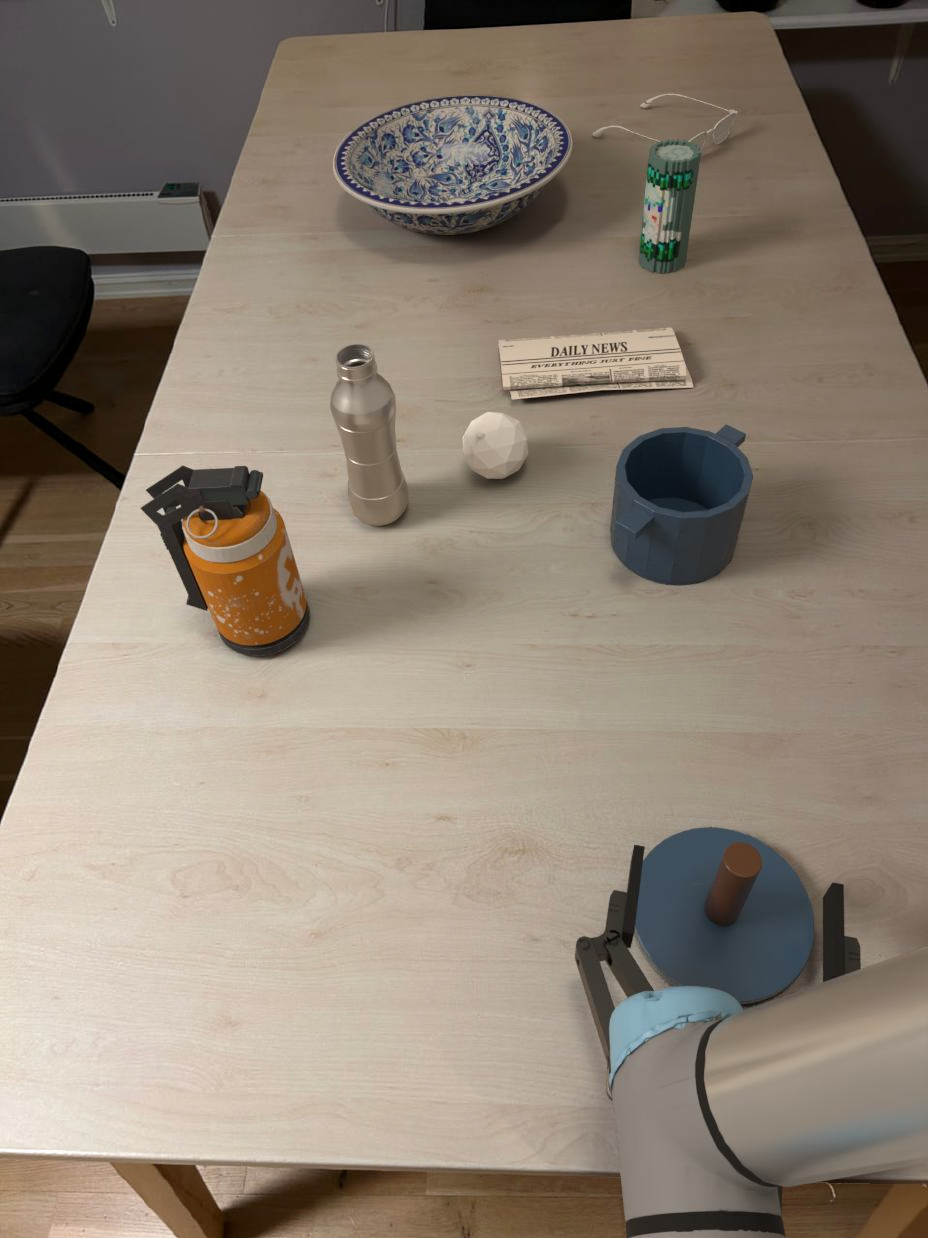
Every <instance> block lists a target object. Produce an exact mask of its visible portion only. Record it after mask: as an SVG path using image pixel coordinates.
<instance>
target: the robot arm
mask: <svg viewBox="0 0 928 1238" xmlns="http://www.w3.org/2000/svg"><path fill="white" fill-rule="evenodd" d="M645 848H646V846H644V845H640V844H633V848H632V854H631V858H630V864H629V871H628V872H629V873H628V880H627V889H626V891H622V890H617V889H613V890H612V892H611V894H610V895H609V900H608V905H607V913H606V920H605V928H604V931H603V933H602V934H600V935H599V936H598V935H597V936H595V937H589V936H586V935H584V936H582V935H581V936H580V937H578V939H577V940H576V942H575V949H574V950H575V951H574V961H575V964H576V966H577V970H578V974H579V977H580V980H581V983H582V986H583V989H584V990H583V991H584V993H585V996H586V1000H587V1003H588V1006H589V1009H590V1012H591V1016H592V1018H593V1022H594V1025H595V1028H596V1029H595V1030H596V1033H597V1035H598V1038H599V1042H600V1045H601V1048H602V1052H603V1054H604V1058H605V1061H606V1089H605V1090H606V1091H605V1092H606V1096H607V1098H608V1099H609V1100H610V1101H611V1102H612V1109H613V1116H614V1118H613V1119H614V1127H615V1136H616V1137H615V1138H616V1145H617V1146H616V1147H617V1157H618V1165H619V1174H620V1183H621V1184H620V1185H621V1192H622V1193H621V1194H622V1202H623V1204H622V1205H623V1213H624V1223H625V1235H626V1238H786V1231H785V1225H784V1221H783V1216H782V1214H783V1212H782V1211H783V1187H784V1188H790V1187H797V1186H802V1185H808V1184H813V1183H815V1184H816V1183H819V1182H826V1181H831V1180H832V1181H833V1180H837V1179H843V1178H851V1177H855V1176H856V1177H857V1176H861V1175H867V1174H873V1173H879V1172H884V1171H890V1170H896V1169H902V1168H908V1167H913V1166H921V1165H925V1164H928V944H927V945H925V946H922V947H919V948H917V949H913V950H911V951H908V952H904V953H902V954H899V955H897V956H893V957H890V958H887V959H884V960H882V961H880V962H877V963H873V964H870V965H867V966H865V967H863V968H862V964H861V963H862V962H861V960H862V959H861V944H860V942H859V940H858V938H857V937H853V936H848V935H845V884H844V883H840V882H839V883H838V882H834V881H833V882H831V883H830V885H829V887H828V889H827V890H826V892H824V895H823V896H822V982H820V983H817V984H814V985H811V986H808V987H806V988H803V989H800V990H797V991H794V992H792V993H789V994H785V995H783V996H780V997H778V998H773V999H772V1000H768V1001H766V1002H763V1003H761V1004H758V1005H757V1004H756V1005H754V1006H752V1007H749V1008H747V1009H743V1005H742V1004H739V1002H738V1001H737V1000H736V999H735V998H734V997H733V996H731V995H730V994H728V993H726V992H724V991H721V990H718V989H714V988H709V987H699V986H676V985H674V986H667V987H663V988H662V989H659V990H654V988H653V986H652V984H651V983H650V981H649V980H648V978H647V977H646V975H645V974H644V972H643V970H642V969H641V967H640V966H639V964H638V962H637V961H636V960H635V958H634V956H633V955H632V953H631V952H630V949H631V948H632V944H633V939H634V936H635V930H634V929H635V921H636V913H637V905H638V897H639V889H640V881H641V873H642V865H643V860H644V858H645V857H644V855H645V850H646V849H645ZM601 962H605V963H606V965H607V967H608V968H609V970H610V971H611V973H612V975H613V976H614V978H615V980H616V981H617V983H618V985H619V987H620V988H621V990H622V991H623V993H624V995H625V996H626V998H625V999H623V1000H622V1001H621V1002H620V1003H619V1004H618V1005H617V1006H616V1007H615V1005H614V1001H613V998H612V995H611V992H610V989H609V986H608V983H607V979H606V976H605V973H604V971H603V968H602V964H601Z"/></svg>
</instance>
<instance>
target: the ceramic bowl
mask: <svg viewBox="0 0 928 1238" xmlns="http://www.w3.org/2000/svg"><path fill="white" fill-rule="evenodd" d="M573 145H574V143H573V138H572V132H571V131H570V129H569V127H568V125H567V124H566V122H564V121H563V120H562V118H560V116H558V115H557V114H555V113H554V112H552V111H551V110H549V109H547V108H545V107H544V106H541V105H538V104H535V103H533V102H531V101H530V102H529V101H526V100H523V99H519V98H513V97H508V96H502V95H501V96H500V95H489V94H459V95H448V96H447V95H445V96H440V97H433V98H427V99H423V100H418V101H414V102H409V103H406V104H403V105H400V106H396V107H394V108H391V109H388V110H386V111H383V112H381V113H379V114H377V115H374V116H373V117H370V118H368V119H367V120H365V121H364V122H362V123H360V124H359V125H357V126H356V127H354V129H352V130H350V132H349V133H348V134H347V135H346V136H345V137H344V138H343V139H342V140H341V141H340V143H339V144H338V145H337V147H336V149H335V152H334V154H333V158H332V171H333V175H334V177H335V179H336V181H337V184H339V186H340V187H341V188H342V189H343V190H344V191H345V192H346V193H347V194H349V195H350V196H351V197H353V198H355V199H357V200H358V201H360V202H362V203H365V204H366V205H367V206H368V207H369V208H370V209H371V210H373V211H374V212H375V213H376V214H378V215H379V216H381V218H383V219H385V220H386V221H389V222H391V223H392V224H394V225H396V226H399V227H401V228H404V229H405V230H410V231H411V232H412V231H413V232H416V233H422V234H428V235H436V236H437V235H438V236H451V235H453V236H454V235H462V234H469V233H470V234H471V233H475V232H479V231H483V230H486V229H489V228H491V227H494V226H497V225H500V224H501V223H503V222H505V221H507V220H509V219H512V217H515V215H517V214H519V213H520V212H521V211H523V210H524V209H525V208H526V207H527V206H529V205H530V204H531V203H532V202H533V201H534V200H535V198H537V197H538V195H539V194H540V193H541V191H542V190H543V189H544V187H545V186H546V185H547V184H548V183H549V182H551V181H552V180H553V179H554V178H556V177H557V176H558V174H560V173H561V172H562V171H563V169H565V167H566V165H567V164H568V161H569V160H570V158H571V156H572V151H573V147H574V146H573Z"/></svg>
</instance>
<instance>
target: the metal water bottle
mask: <svg viewBox="0 0 928 1238" xmlns="http://www.w3.org/2000/svg"><path fill="white" fill-rule="evenodd" d="M335 364H336V375H337V378H338V380H337V382H336V384H335V386H334V387H333V390H332V391H331V394H330V402H329V409H330V412H331V415H332V418H333V421H334V424H335V426H336V428H337V429H336V430H337V432H338V434H339V436H340V440H341V443H342V448H343V450H344V451H343V452H344V456H345V459H346V468H347V478H348V479H347V499H348V500H347V501H348V504H349V506H350V509H351V511H352V513H353V514H354V516H355V518H356V519H358V520H359V521H361V522H363V523H365V524H366V525H369V526H374V527H377V526H378V527H381V526H387V525H389V524H392V523H394V522H395V521H397V520H399V518H400V517H401V516H402V515H403V514H404V512H405V511H406V509H407V507H408V503H409V487H408V484H407V480H406V477H405V475H404V473H403V470H402V467H401V462H400V459H399V454H398V449H397V437H396V435H397V434H396V415H397V414H396V413H397V412H396V410H397V409H396V408H397V403H396V401H397V400H396V394H395V392H394V389H393V388H392V386H391V383H389V381H388V380H386V379H385V378H384V377H383V376H382V375H381V374H380V373H378V369H379V368H378V364H377V361H376V357H375V352H374V350H373V349H372V347H370V346H369V345H367V344H363V343H351V344H348V345H345V346H343V347H341V348H340V349H339V350H338V351H337V352H336V354H335Z"/></svg>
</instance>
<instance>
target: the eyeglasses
mask: <svg viewBox="0 0 928 1238" xmlns="http://www.w3.org/2000/svg"><path fill="white" fill-rule="evenodd" d="M667 96H677V97H681V98H684V99H685V98H686V99H690V100H693V101H697V102H699V103H702V104H706V105H710V106H713V107H715V108H719V109H721V110H723V111H727V112H728V113H729V114H727V115H726V116H724V117H723V118H722V119H720V120H719V121H717V123H716V124H715V125H714V127H713V128H710V129H709V130H708V131H702V132H700V133H698V134H696V135H695V136H693V137H692V138H690V139H689V140H688V141H689V142H691V143H694V144H697V147H699V148H700V149H701V148H703V149H704V146H705V144H706V141H707V137H708V134H710V138H712V141H713V140H715V139H716V138H717V137H719V136H720V135H722V134H723V133H724V132H725V131H727V130H728V129H729V128H730V127H732V128H733V125H734V123H735V119H736V116H738V113H739V111H737V110H734V109H732V108H731V109H727V108H723V107H722V106H718V105H715V104H712V103H709V102H705V101H702V100H699V99H695V98H692V97H689V96H686V95H683V94H678V93H663V94H659V95H657V96H653V97H651V98H650V99H647V100H646V102H647V103H651V104H645V103H644V102H642V103H641V104H640V108H641V109H649V107H651V105H652V104H653V102H655V101H656V100H658V99H660V98H663V97H667ZM612 128H618V129H622V130H624V131H626V132H629V133H631V134H632V133H633V134H635V135H638V136H641V137H644V138H646V139H649V140H652V141H655V142H657V143H658V142H660V141H661V140H658V139H654V138H652V137H649V136H646V135H643V134H640V133H637V132H635V131H632V130H631V129H628V128H625V127H623V126H620V125H608V126H604V127H601V128H598V129H597V130H595V131H596V132H595V131H594V132H593V133H592V136H593V137H594V138H596V139H599V138H600V137H601V135H602V134H603V132H605V131H607V130H609V129H612ZM597 133H599V134H597ZM730 133H731V130H730V131H729V132H727V133H726V134H725V135H723V136H722V137H720V138H719V139H717V140H715V141H713V144H714V145H719V144H721V143H723V142H724V141H725V140H727V138H728V137H729V135H730ZM703 149H702V150H701V151H700V152H701V153H702V151H703Z"/></svg>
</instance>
